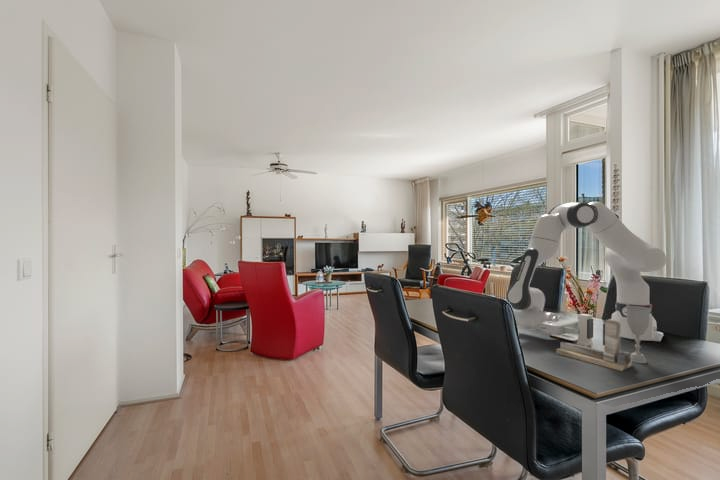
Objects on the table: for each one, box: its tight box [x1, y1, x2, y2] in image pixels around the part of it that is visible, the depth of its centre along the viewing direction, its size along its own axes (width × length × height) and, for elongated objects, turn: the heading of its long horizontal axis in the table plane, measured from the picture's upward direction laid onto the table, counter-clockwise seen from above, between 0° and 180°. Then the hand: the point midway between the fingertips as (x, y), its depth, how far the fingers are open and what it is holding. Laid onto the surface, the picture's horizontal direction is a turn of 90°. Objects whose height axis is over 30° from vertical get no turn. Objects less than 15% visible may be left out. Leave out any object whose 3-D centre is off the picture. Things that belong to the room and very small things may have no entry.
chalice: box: [625, 306, 652, 364], centre depth 119 cm, size 7×7×18 cm
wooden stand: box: [555, 318, 633, 372], centre depth 119 cm, size 8×20×14 cm, turn 34°
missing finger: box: [576, 313, 594, 349], centre depth 131 cm, size 6×4×13 cm, turn 124°
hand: (584, 330), depth 131 cm, fingers open, 8 cm apart
